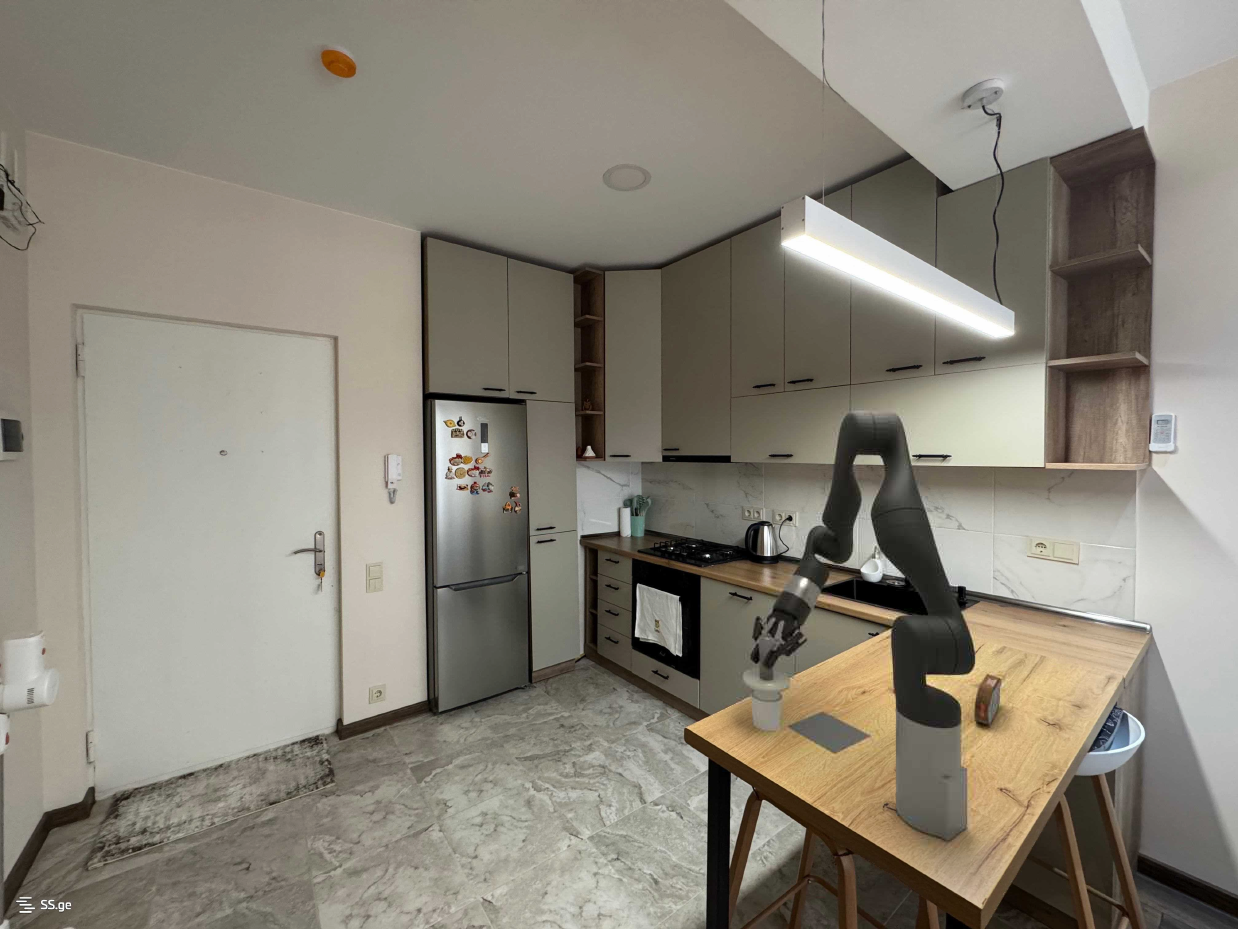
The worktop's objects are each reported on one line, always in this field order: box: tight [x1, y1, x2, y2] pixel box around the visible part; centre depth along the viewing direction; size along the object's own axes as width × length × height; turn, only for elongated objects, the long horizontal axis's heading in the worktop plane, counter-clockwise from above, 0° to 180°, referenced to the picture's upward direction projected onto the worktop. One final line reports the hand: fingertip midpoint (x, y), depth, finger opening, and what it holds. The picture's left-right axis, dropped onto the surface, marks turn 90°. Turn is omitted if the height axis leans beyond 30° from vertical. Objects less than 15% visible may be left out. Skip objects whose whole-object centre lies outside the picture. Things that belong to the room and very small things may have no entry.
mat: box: [786, 710, 872, 754], centre depth 109 cm, size 12×12×1 cm
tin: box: [973, 673, 1002, 726], centre depth 115 cm, size 15×3×8 cm, turn 134°
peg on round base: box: [742, 634, 791, 693], centre depth 112 cm, size 10×10×10 cm
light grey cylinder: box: [750, 689, 783, 732], centre depth 112 cm, size 7×7×7 cm
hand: (759, 664), depth 111 cm, fingers closed on peg on round base, 3 cm apart
